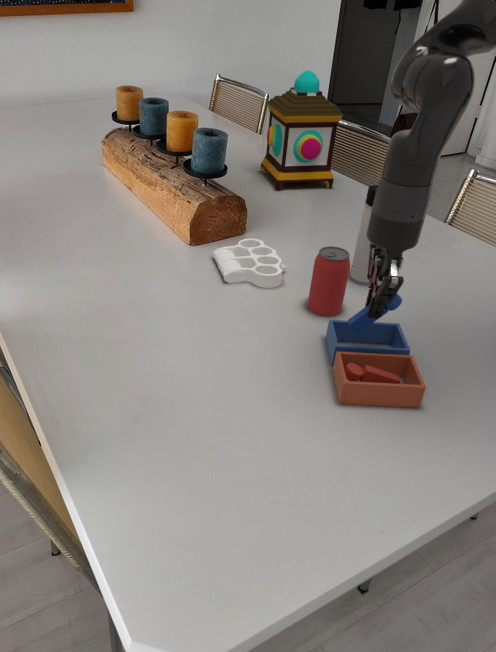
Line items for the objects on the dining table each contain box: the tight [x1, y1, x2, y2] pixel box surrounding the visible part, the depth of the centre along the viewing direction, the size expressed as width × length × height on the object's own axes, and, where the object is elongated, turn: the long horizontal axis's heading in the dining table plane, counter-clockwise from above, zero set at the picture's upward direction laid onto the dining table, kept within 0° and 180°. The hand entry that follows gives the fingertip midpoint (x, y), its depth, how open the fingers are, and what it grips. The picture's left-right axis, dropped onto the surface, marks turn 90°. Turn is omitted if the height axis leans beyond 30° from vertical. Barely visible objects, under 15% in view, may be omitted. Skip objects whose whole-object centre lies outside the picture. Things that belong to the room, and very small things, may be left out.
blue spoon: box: [347, 292, 403, 333], centre depth 88 cm, size 9×3×2 cm
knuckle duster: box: [212, 238, 289, 289], centre depth 117 cm, size 3×18×15 cm
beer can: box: [307, 246, 351, 317], centre depth 102 cm, size 7×7×12 cm
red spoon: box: [344, 363, 402, 384], centre depth 84 cm, size 9×3×2 cm, turn 89°
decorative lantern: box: [260, 69, 344, 192], centre depth 156 cm, size 20×20×30 cm
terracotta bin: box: [331, 351, 427, 409], centre depth 85 cm, size 12×8×4 cm
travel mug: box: [349, 185, 378, 286], centre depth 110 cm, size 6×7×20 cm
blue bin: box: [324, 319, 411, 367], centre depth 92 cm, size 12×8×4 cm
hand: (372, 312), depth 89 cm, fingers closed on blue spoon
